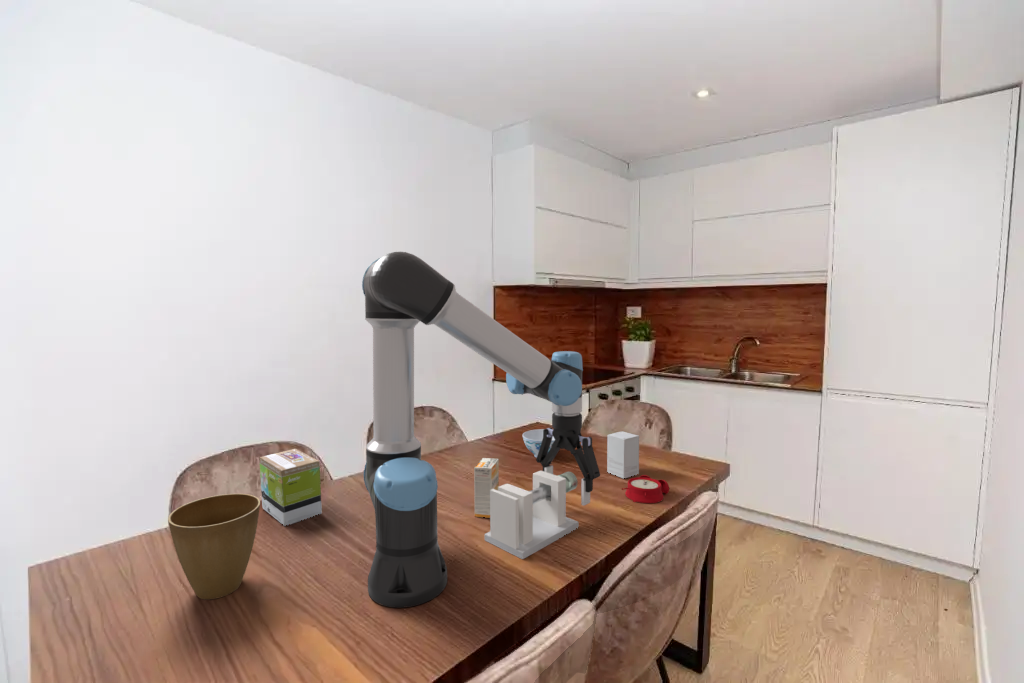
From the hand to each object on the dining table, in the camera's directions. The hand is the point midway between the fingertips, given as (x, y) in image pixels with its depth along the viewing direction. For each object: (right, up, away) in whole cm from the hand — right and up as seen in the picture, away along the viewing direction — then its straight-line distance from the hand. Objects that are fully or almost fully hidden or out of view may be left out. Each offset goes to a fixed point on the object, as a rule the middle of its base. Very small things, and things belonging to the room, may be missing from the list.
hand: (566, 497), depth 122 cm
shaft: (-7, +1, -7) cm, 10 cm away
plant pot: (-70, -8, -30) cm, 77 cm away
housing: (-9, -6, -9) cm, 14 cm away
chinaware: (-3, -1, +49) cm, 49 cm away
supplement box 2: (+22, -3, +31) cm, 38 cm away
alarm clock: (+25, -4, +14) cm, 29 cm away
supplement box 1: (-21, -5, +4) cm, 21 cm away
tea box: (-72, -5, +4) cm, 72 cm away
